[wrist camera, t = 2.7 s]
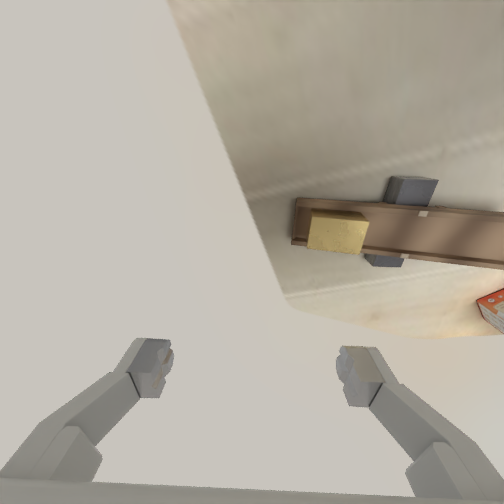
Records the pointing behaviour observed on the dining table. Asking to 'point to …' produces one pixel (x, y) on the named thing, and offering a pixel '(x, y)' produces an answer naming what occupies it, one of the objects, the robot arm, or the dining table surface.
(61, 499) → the robot arm
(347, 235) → the rider
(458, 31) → the dining table surface
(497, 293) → the cracker box
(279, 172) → the dining table surface
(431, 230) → the beam
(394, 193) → the fulcrum
